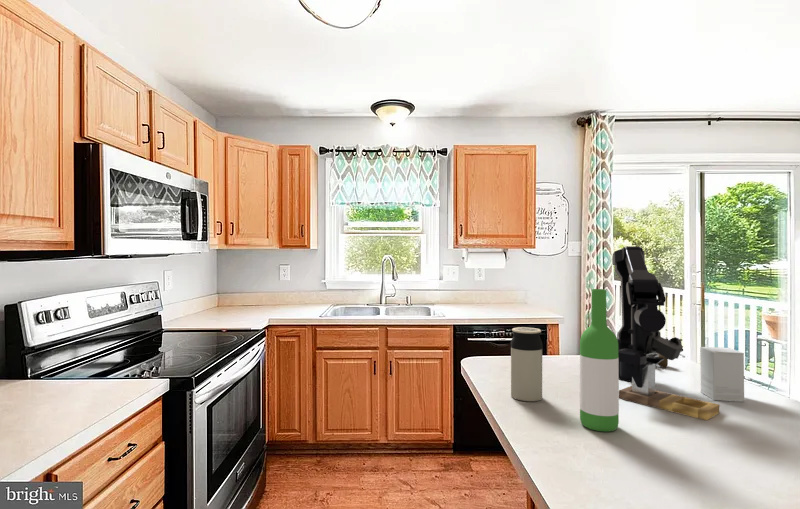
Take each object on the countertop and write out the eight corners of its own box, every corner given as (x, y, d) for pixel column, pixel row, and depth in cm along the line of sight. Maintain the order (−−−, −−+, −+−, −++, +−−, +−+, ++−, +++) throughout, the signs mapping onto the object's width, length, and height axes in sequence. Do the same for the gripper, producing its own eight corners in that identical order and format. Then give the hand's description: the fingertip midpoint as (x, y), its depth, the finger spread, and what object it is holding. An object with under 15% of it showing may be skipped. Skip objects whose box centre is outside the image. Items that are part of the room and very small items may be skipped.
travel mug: (546, 402, 112) (546, 331, 112) (515, 402, 112) (515, 331, 113) (537, 392, 120) (537, 327, 120) (507, 392, 120) (507, 326, 120)
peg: (632, 397, 115) (632, 362, 115) (639, 394, 118) (639, 360, 118) (648, 401, 112) (648, 365, 112) (655, 398, 114) (655, 363, 114)
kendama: (656, 360, 162) (672, 372, 143) (627, 359, 165) (639, 370, 146) (655, 343, 162) (671, 353, 143) (626, 343, 165) (638, 352, 146)
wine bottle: (572, 425, 97) (572, 289, 97) (591, 417, 102) (591, 287, 102) (607, 436, 91) (607, 291, 91) (625, 427, 96) (625, 289, 96)
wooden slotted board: (618, 398, 116) (618, 390, 116) (633, 392, 121) (633, 385, 121) (706, 420, 100) (706, 411, 100) (719, 412, 105) (719, 404, 105)
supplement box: (745, 402, 113) (745, 352, 113) (712, 400, 114) (712, 351, 114) (729, 393, 120) (729, 347, 120) (699, 392, 121) (699, 346, 122)
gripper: (661, 334, 103) (661, 400, 103) (692, 326, 114) (692, 386, 114) (613, 327, 112) (614, 389, 112) (647, 321, 123) (647, 377, 123)
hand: (643, 385), depth 115 cm, fingers closed on peg, 4 cm apart
